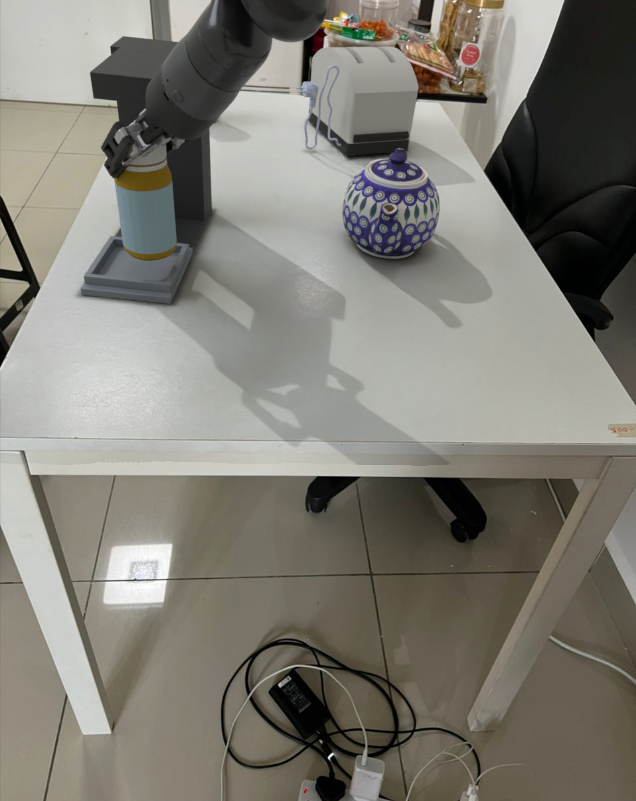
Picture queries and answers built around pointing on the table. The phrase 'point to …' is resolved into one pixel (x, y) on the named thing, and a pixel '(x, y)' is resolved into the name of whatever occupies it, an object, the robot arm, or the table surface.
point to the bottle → (147, 206)
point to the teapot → (391, 207)
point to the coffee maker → (190, 179)
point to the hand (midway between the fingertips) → (132, 163)
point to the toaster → (362, 98)
